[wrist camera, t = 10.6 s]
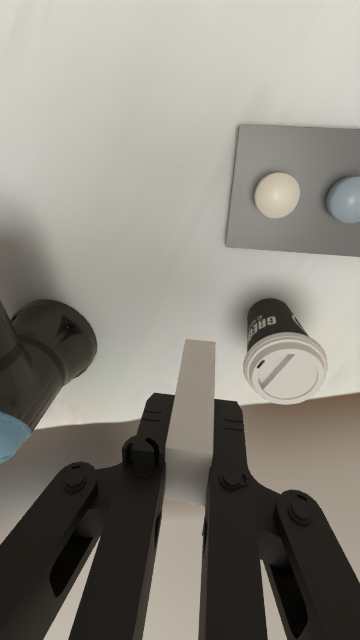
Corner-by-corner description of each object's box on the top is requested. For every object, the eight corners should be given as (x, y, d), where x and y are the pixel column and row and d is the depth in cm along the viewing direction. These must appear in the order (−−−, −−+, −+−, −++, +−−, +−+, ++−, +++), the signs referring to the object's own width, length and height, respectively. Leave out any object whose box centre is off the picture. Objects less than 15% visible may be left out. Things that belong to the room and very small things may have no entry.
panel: (225, 243, 43) (225, 247, 41) (239, 126, 36) (240, 124, 34) (427, 258, 40) (437, 262, 39) (481, 136, 34) (495, 134, 32)
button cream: (249, 211, 39) (252, 217, 36) (255, 170, 37) (259, 171, 33) (287, 214, 39) (294, 219, 35) (295, 172, 37) (304, 174, 33)
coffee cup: (279, 276, 44) (304, 326, 31) (312, 323, 47) (348, 386, 34) (225, 311, 48) (227, 369, 34) (259, 352, 50) (273, 421, 37)
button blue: (316, 215, 39) (327, 221, 35) (327, 174, 36) (339, 175, 33) (355, 218, 38) (370, 224, 34) (368, 176, 36) (386, 178, 32)
